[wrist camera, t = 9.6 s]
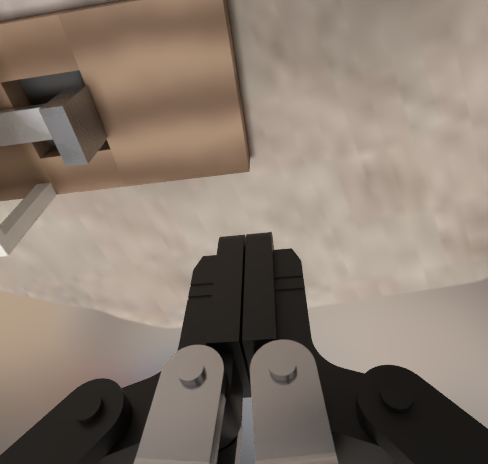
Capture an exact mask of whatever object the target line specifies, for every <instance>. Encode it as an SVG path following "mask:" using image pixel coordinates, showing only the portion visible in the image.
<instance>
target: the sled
mask: <svg viewBox="0 0 488 464" xmlns="http://www.w3.org/2000/svg"><path fill="white" fill-rule="evenodd" d="M52 139H53V141H54V143H55V145H56V147H57V149H58V151H59V153H60V155H61V157H62V159H63V161H64V163H65V165H66V167H68V166H76V165H84V164H89V162H90V161H91V160H92V158H93V157H94V156H95V154H96V153H97V152H98V150H99V149H100V148H101V146H102V145H103V144H104V142H105V141H106V140H107V136H106V134H105V131H104V129H103V126H102V124H101V121H100V118H99V116H98V113H97V111H96V108H95V106H94V103H93V101H92V98H91V95H90V93H89V90H88V88H87V86H80V87H73V88H67V89H64V90H63V91H62V92H60V93H59V94H58V95H57V96H55V97H54V98H53V99H51V100H50V101H49V102H47V103H46V104H39V105H32V106H26V107H19V108H12V109H5V110H0V146H8V145H15V144H22V143H30V142H37V141H44V140H52Z"/></svg>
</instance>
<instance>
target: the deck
mask: <svg viewBox="0 0 488 464" xmlns="http://www.w3.org/2000/svg"><path fill="white" fill-rule="evenodd" d="M80 86H87V88H88V90H89V93H90V95H91V98H92V101H93V103H94V106H95V108H96V111H97V113H98V116H99V118H100V121H101V124H102V126H103V129H104V131H105V134H106V136H107V140H106V141H105V142H104V144H103V145H102V146H101V148H100V149H99V150H98V152H97V153H96V154H95V156H94V157H93V158H92V160H91V161H90V162H89V164H84V165H76V166H68V167H66V165H65V163H64V161H63V159H62V157H61V155H60V153H59V151H58V149H57V147H56V145H55V143H54V141H53V139H52V140H44V141H37V142H30V143H22V144H15V145H8V146H0V201H6V200H14V199H22V198H25V197H26V196H27V195H28V194H29V192H30V191H31V190H32V189H33V188H34V187H35V186H36V185H37V184H42V183H51V185H52V187H53V188H54V190H55V192H56V194H65V193H73V192H82V191H90V190H98V189H107V188H115V187H124V186H132V185H141V184H149V183H158V182H166V181H174V180H183V179H191V178H200V177H208V176H217V175H225V174H233V173H242V172H249V169H250V156H249V150H248V143H247V136H246V130H245V123H244V116H243V110H242V103H241V96H240V90H239V83H238V77H237V70H236V63H235V57H234V50H233V43H232V37H231V30H230V23H229V17H228V10H227V4H226V0H122V1H116V2H111V3H105V4H99V5H93V6H88V7H82V8H76V9H71V10H65V11H59V12H53V13H48V14H42V15H36V16H31V17H25V18H19V19H14V20H8V21H2V22H0V110H5V109H12V108H19V107H26V106H32V105H39V104H46V103H47V102H49V101H50V100H51V99H53V98H54V97H55V96H57V95H58V94H59V93H60V92H62V91H63V90H64V89H67V88H73V87H80Z"/></svg>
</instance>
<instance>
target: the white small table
mask: <svg viewBox="0 0 488 464" xmlns="http://www.w3.org/2000/svg"><path fill="white" fill-rule="evenodd" d="M56 195H57V194H56V192H55V190H54V188H53V187H52V185H51V183H42V184H37V185H36V186H35V187H34V188H33V189H32V190H31V191H30V192H29V194H28V195H27V196H26V197H25V198H24V199H23V200H22V201H21V202H20V204H19V205H18V206H17V207H16V208H15V209H14V210H13V211H12V212H11V214H10V215H9V216H8V217H7V218H6V219H5V220H4V221H3V222H2V223H1V225H0V257H2V256H9V254H10V253H11V252H12V250H13V249H14V248H15V247H16V245H17V244H18V243H19V242H20V240H21V239H22V238H23V237H24V235H25V234H26V233H27V231H28V230H29V229H30V228H31V226H32V225H33V224H34V223H35V221H36V220H37V219H38V217H39V216H40V215H41V214H42V212H43V211H44V210H45V209H46V207H47V206H48V205H49V204H50V202H51V201H52V200H53V198H54V197H55V196H56Z"/></svg>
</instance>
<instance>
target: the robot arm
mask: <svg viewBox="0 0 488 464" xmlns="http://www.w3.org/2000/svg"><path fill="white" fill-rule="evenodd" d="M188 298H189V299H188V301H187V306H186V311H185V316H184V322H183V327H182V332H181V338H180V343H179V347H178V351H177V352H176V353H174V354H173V355H172V356H171V357H170V358H169V359H168V360H167V361H166V363H165V365H164V366H163V369H162V371H161V372H159V373H158V374H156V375H154V376H152V377H150V378H148V379H145V380H142V381H140V382H137V383H134V384H132V385H129V386H126V387H124V388H121V387H120V386H119V385H118V384H117V383H116V382H114V381H112V380H110V379H95V380H92V381H88V382H86V383H84V384H82V385H81V386H79V387H78V388H76V389H75V390H74V391H73V392H72V393H70V394H69V395H68V396H67V397H66V398H65V399H64V400H62V401H61V402H60V403H59V404H58V405H57V406H56V407H55V408H54V409H52V410H51V411H50V412H49V413H48V414H47V415H46V416H44V417H43V418H42V419H41V420H40V421H39V422H38V423H36V424H35V425H34V426H33V427H32V428H31V429H30V430H29V431H27V432H26V433H25V434H24V435H23V436H22V437H21V438H19V439H18V440H17V441H16V442H15V443H14V444H13V445H12V446H10V447H9V448H8V449H7V450H6V451H5V452H4V453H2V454H1V455H0V464H239V460H240V450H241V440H242V422H241V421H242V401H243V399H242V398H245V397H252V412H253V428H254V444H255V460H256V464H488V429H487V428H486V427H485V426H483V425H482V424H481V423H479V422H478V421H477V420H475V419H474V418H473V417H472V416H470V415H469V414H468V413H466V412H465V411H464V410H462V409H461V408H460V407H459V406H457V405H456V404H455V403H453V402H452V401H451V400H449V399H448V398H447V397H445V396H444V395H443V394H442V393H440V392H439V391H438V390H436V389H435V388H434V387H433V386H431V385H430V384H429V383H427V382H426V381H425V380H423V379H422V378H421V377H419V376H418V375H417V374H415V373H414V372H412V371H410V370H408V369H406V368H403V367H400V366H395V365H381V366H377V367H374V368H372V369H370V370H369V371H367V372H366V373H365V374H364V373H360V372H356V371H352V370H348V369H344V368H341V367H337V366H335V365H333V364H331V363H330V362H328V361H327V360H325V359H324V358H323V357H322V356H321V355H320V354H319V353H318V352H317V350H316V349H315V347H314V345H313V343H312V339H311V332H310V325H309V318H308V309H307V302H306V294H305V287H304V279H303V272H302V264H301V260H300V259H299V257H298V256H297V255H296V253H295V252H294V251H293V249H280V250H274V245H273V237H272V232H268V233H257V234H247V235H246V236H245V235H237V236H226V237H220V238H219V242H218V250H217V255H213V256H203V257H202V259H201V260H200V261H199V263H198V264H197V266H196V267H195V268H194V270H193V275H192V280H191V287H190V290H189V296H188Z"/></svg>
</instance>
